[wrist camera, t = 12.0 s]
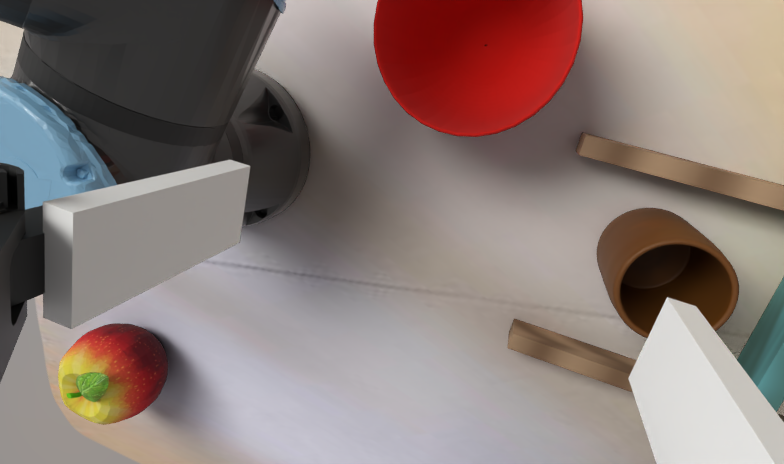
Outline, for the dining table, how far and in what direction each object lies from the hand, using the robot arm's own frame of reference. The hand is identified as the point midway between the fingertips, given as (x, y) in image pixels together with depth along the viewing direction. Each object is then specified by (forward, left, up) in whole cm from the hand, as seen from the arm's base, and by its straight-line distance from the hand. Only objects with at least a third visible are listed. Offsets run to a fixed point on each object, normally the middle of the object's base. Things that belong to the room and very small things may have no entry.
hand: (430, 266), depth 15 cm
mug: (+15, -6, -29) cm, 33 cm away
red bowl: (-4, +10, -29) cm, 31 cm away
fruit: (-33, -34, -29) cm, 55 cm away
